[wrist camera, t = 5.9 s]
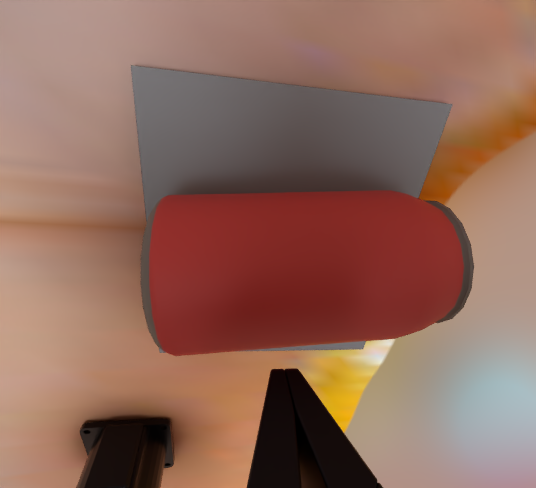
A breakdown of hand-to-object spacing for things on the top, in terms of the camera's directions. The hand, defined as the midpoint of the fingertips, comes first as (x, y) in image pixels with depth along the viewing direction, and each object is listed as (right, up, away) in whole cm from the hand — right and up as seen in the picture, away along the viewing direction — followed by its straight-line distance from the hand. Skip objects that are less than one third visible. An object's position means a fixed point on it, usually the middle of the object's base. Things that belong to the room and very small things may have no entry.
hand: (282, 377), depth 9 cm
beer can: (-5, +3, +3) cm, 7 cm away
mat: (0, +4, +8) cm, 9 cm away
